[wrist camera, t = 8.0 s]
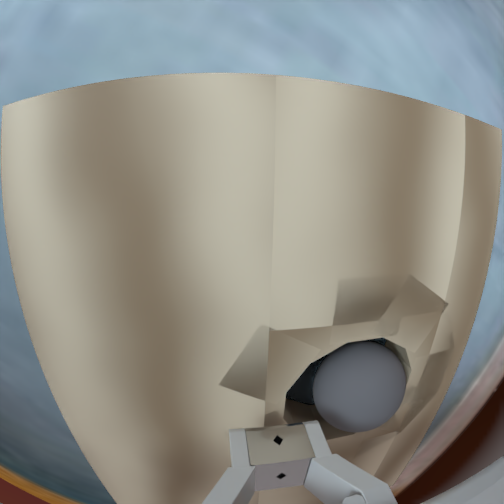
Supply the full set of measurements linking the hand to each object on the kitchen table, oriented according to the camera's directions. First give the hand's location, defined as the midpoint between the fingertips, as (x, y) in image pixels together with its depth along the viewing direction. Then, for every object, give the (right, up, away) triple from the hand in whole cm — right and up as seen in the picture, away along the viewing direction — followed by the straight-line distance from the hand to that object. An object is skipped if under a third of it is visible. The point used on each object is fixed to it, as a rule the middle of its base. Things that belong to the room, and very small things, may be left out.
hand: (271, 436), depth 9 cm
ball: (+4, +1, +2) cm, 5 cm away
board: (0, +1, +4) cm, 4 cm away
